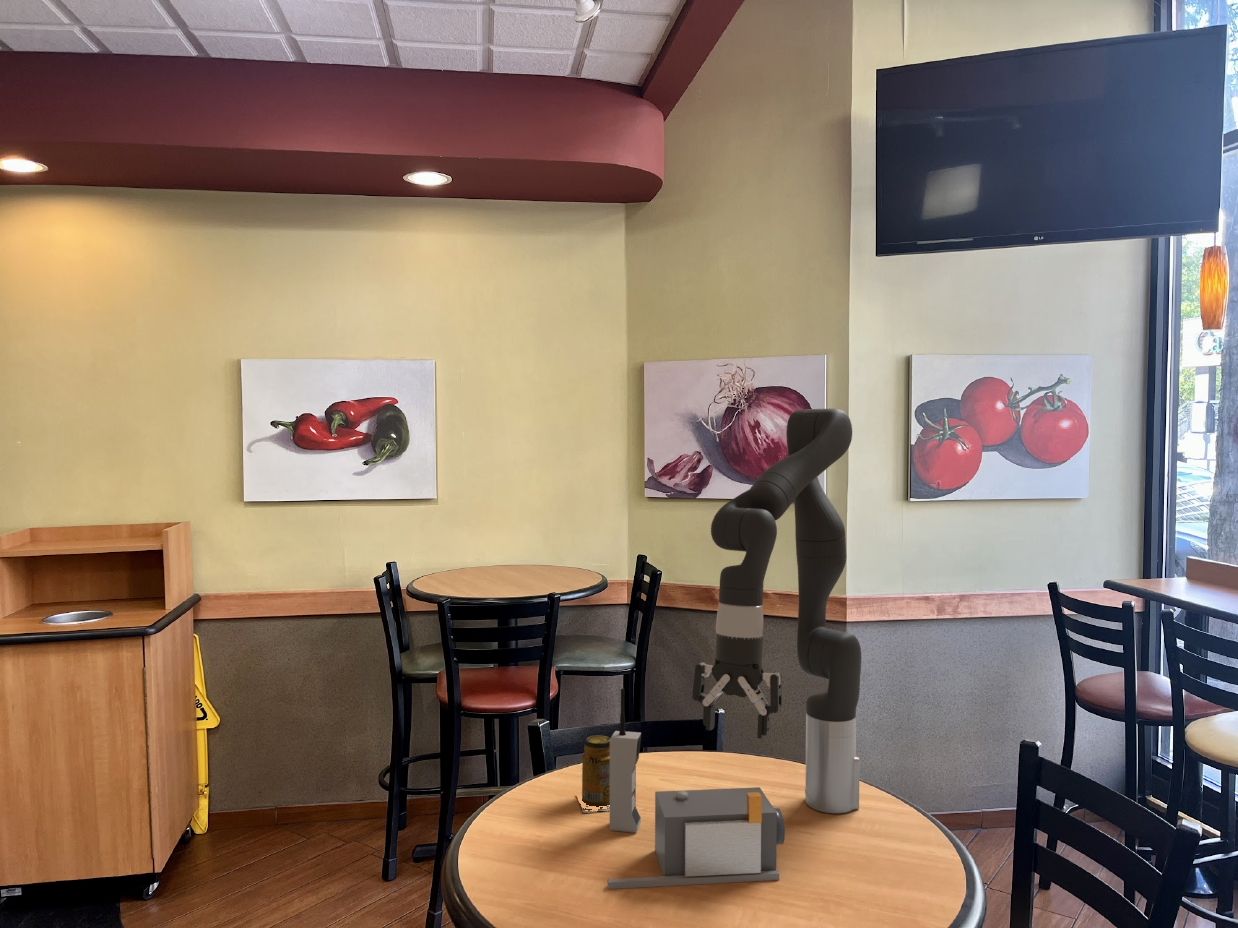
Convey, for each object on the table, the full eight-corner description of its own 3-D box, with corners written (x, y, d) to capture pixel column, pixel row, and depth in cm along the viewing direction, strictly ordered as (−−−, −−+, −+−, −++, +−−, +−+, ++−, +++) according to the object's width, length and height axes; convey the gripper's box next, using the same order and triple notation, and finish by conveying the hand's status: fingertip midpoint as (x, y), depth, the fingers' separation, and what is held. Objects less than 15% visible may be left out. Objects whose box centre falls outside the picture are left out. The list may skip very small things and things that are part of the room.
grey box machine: (770, 844, 145) (771, 782, 145) (791, 879, 133) (792, 811, 133) (601, 852, 142) (602, 788, 142) (608, 888, 130) (608, 819, 130)
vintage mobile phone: (637, 833, 149) (637, 692, 148) (609, 830, 150) (609, 690, 149) (640, 824, 153) (641, 686, 152) (613, 821, 154) (614, 684, 153)
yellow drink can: (611, 792, 167) (612, 732, 166) (621, 810, 158) (621, 746, 158) (575, 795, 165) (575, 734, 165) (582, 814, 157) (583, 749, 157)
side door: (758, 868, 134) (759, 791, 134) (761, 873, 133) (761, 796, 132) (683, 872, 133) (684, 795, 133) (685, 877, 131) (686, 799, 131)
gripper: (788, 633, 137) (784, 734, 136) (705, 624, 143) (701, 720, 142) (776, 640, 130) (772, 746, 130) (689, 629, 136) (685, 731, 136)
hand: (735, 733), depth 136 cm, fingers open, 8 cm apart
